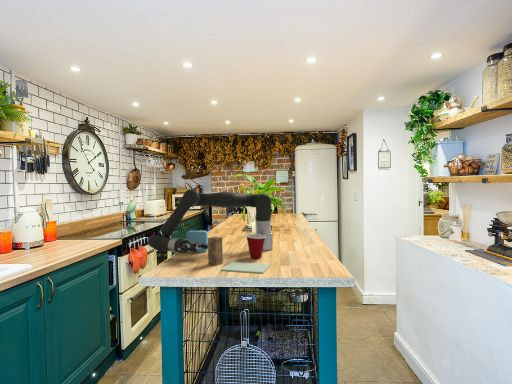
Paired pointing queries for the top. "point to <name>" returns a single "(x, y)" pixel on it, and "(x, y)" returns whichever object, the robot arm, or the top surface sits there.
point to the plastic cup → (255, 245)
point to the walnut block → (215, 251)
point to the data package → (198, 238)
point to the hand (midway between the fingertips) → (202, 248)
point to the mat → (246, 267)
